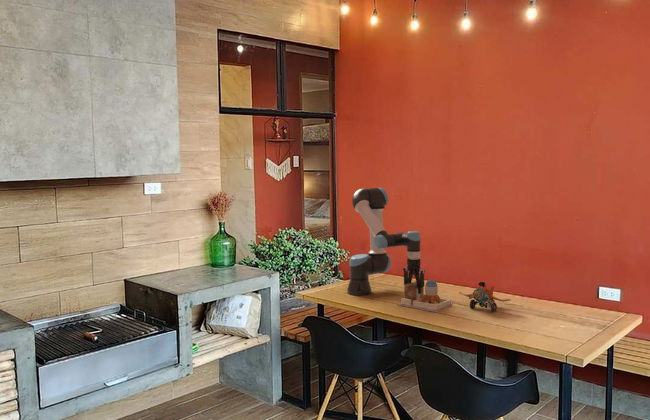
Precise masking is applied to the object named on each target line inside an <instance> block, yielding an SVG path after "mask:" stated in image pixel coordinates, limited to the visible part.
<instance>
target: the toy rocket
mask: <svg viewBox="0 0 650 420" xmlns="http://www.w3.org/2000/svg"><path fill="white" fill-rule="evenodd" d="M438 288H439V287H438V284H437V281H435V280H434V279H428V280H427V281H426V283H425V284H424V294H426V295H424V296H423V297H422V302H425V301H426V299H427V300H428V301H429V303H431V304H434V301H435V300H436V301H437V302H438V303H440V298H441V297H440V296H439V295H438V294H439V293H438V290H439V289H438Z"/></svg>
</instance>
